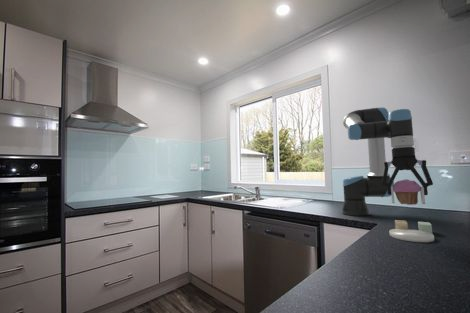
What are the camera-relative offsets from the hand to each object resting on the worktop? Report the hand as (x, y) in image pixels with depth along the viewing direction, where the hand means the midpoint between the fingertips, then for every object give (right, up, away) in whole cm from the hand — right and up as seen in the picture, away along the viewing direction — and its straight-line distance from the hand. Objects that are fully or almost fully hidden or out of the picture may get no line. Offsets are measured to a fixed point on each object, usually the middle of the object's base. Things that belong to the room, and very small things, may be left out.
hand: (407, 203), depth 90 cm
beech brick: (+4, -14, +9) cm, 17 cm away
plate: (0, -13, -1) cm, 13 cm away
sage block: (+11, -13, +4) cm, 18 cm away
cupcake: (0, -1, 0) cm, 1 cm away
